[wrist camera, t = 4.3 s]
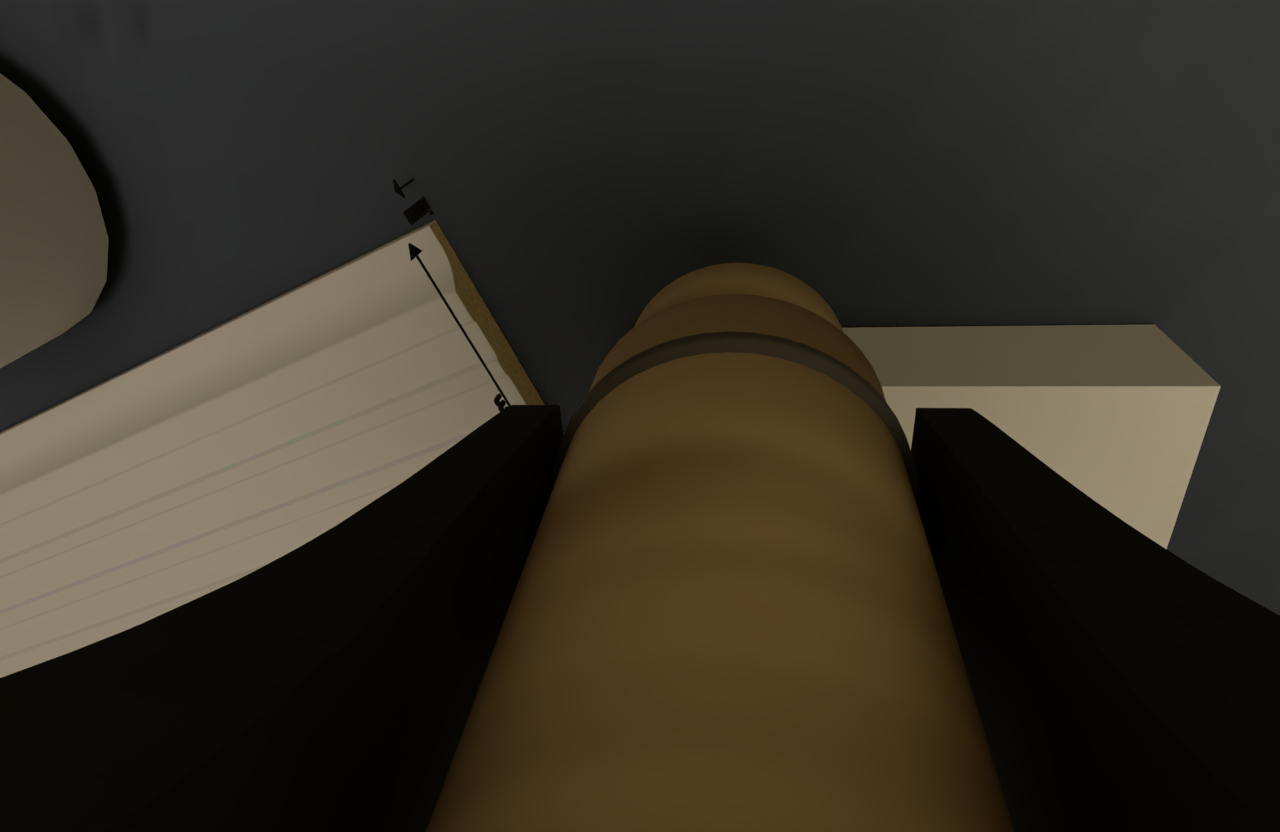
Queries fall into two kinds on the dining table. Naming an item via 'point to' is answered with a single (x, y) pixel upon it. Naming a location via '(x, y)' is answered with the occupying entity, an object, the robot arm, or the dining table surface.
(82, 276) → the can
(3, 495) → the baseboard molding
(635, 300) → the dining table surface
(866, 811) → the oak peg
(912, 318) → the dining table surface
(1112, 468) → the socket board
